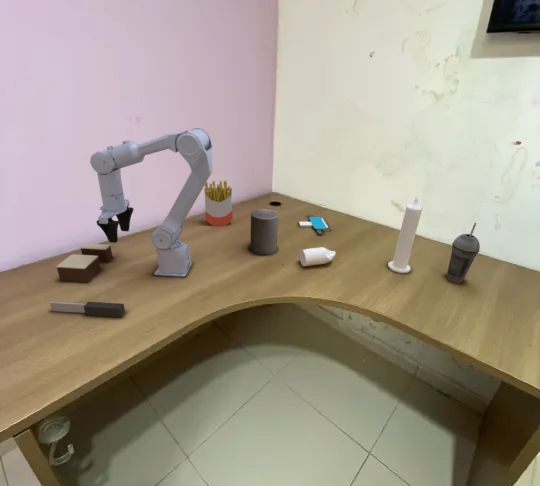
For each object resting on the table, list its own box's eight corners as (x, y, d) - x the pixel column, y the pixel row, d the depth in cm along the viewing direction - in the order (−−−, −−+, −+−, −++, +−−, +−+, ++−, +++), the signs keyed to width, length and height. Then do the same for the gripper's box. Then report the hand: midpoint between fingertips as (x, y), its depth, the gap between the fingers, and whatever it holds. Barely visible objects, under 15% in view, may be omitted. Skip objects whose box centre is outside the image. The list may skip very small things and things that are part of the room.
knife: (125, 312, 78) (123, 303, 77) (121, 317, 76) (119, 308, 75) (55, 308, 79) (52, 299, 77) (50, 313, 77) (47, 304, 76)
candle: (410, 265, 105) (429, 195, 95) (409, 275, 99) (429, 202, 89) (388, 260, 108) (405, 191, 97) (386, 270, 102) (403, 198, 91)
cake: (101, 269, 95) (97, 255, 93) (88, 282, 89) (84, 268, 87) (75, 268, 95) (71, 254, 93) (60, 281, 89) (56, 266, 87)
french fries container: (232, 225, 129) (232, 183, 122) (206, 226, 127) (204, 183, 120) (231, 221, 133) (231, 180, 126) (206, 221, 131) (204, 180, 124)
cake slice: (112, 258, 102) (110, 244, 100) (108, 262, 99) (105, 248, 97) (88, 256, 102) (85, 243, 100) (83, 261, 99) (80, 247, 97)
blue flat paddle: (296, 216, 142) (296, 212, 141) (321, 216, 143) (321, 212, 142) (303, 235, 124) (304, 231, 123) (332, 235, 125) (333, 231, 124)
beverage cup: (464, 275, 101) (485, 219, 92) (469, 287, 95) (492, 228, 86) (440, 270, 103) (458, 215, 94) (443, 282, 97) (463, 224, 88)
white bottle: (338, 265, 103) (340, 251, 101) (304, 269, 100) (306, 254, 98) (330, 257, 108) (332, 242, 106) (298, 260, 105) (299, 245, 103)
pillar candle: (245, 251, 109) (245, 212, 103) (256, 240, 118) (257, 203, 111) (271, 257, 106) (273, 217, 100) (280, 245, 114) (283, 207, 108)
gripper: (110, 184, 94) (117, 225, 100) (83, 200, 81) (93, 246, 87) (134, 186, 94) (139, 226, 100) (110, 202, 81) (118, 248, 87)
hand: (119, 236), depth 93 cm, fingers open, 7 cm apart
